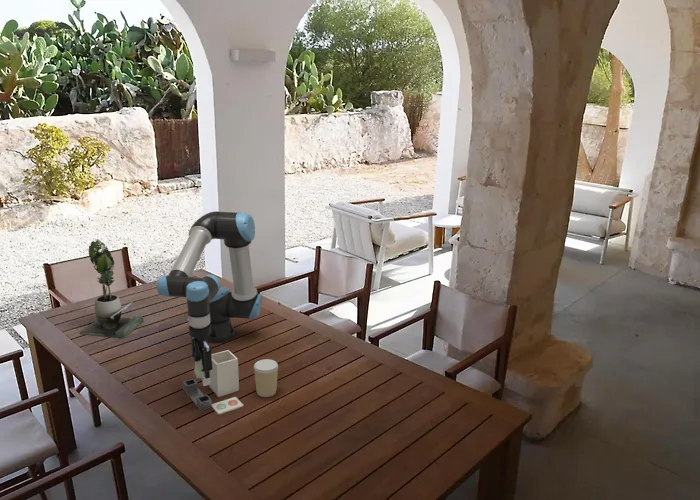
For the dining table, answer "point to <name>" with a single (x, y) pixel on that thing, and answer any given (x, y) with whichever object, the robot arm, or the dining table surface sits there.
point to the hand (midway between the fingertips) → (203, 380)
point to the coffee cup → (266, 377)
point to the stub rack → (197, 395)
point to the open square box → (224, 373)
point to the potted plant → (108, 300)
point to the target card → (227, 405)
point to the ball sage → (199, 370)
